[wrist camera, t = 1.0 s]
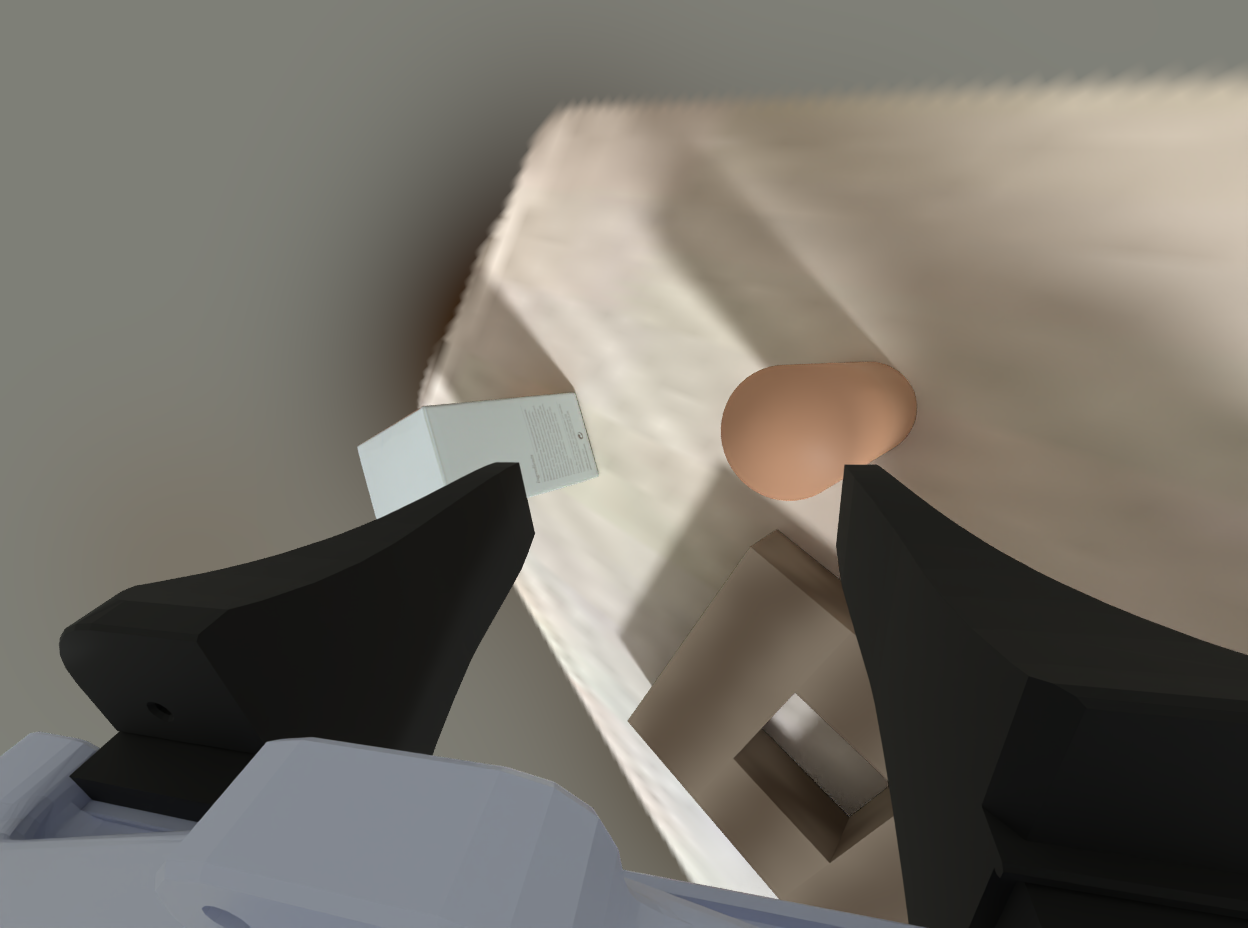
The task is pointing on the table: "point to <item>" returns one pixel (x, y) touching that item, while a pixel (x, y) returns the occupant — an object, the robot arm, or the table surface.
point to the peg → (813, 424)
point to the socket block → (751, 760)
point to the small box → (478, 447)
